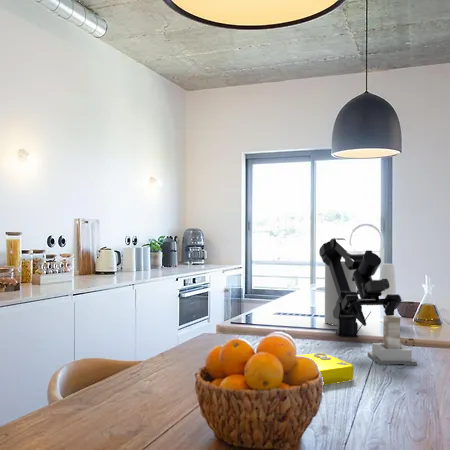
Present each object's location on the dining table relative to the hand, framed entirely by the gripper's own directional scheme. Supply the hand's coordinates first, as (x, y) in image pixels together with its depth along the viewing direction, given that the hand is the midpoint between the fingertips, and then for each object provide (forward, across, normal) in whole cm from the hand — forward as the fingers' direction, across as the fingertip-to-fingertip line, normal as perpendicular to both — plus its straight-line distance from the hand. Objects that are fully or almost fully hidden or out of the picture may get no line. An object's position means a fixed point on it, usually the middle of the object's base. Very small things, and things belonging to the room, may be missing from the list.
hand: (379, 324), depth 160 cm
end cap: (+12, 0, 0) cm, 12 cm away
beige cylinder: (+11, 0, -1) cm, 11 cm away
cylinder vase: (-25, +6, +41) cm, 48 cm away
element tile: (+21, -28, -8) cm, 36 cm away
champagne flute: (-26, +28, +42) cm, 57 cm away
